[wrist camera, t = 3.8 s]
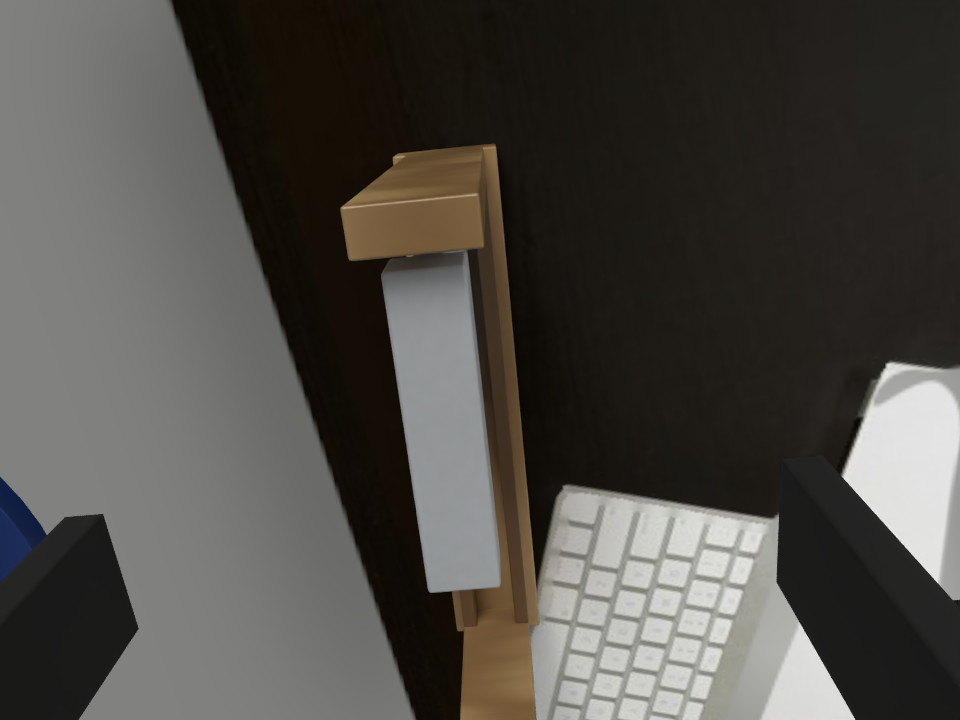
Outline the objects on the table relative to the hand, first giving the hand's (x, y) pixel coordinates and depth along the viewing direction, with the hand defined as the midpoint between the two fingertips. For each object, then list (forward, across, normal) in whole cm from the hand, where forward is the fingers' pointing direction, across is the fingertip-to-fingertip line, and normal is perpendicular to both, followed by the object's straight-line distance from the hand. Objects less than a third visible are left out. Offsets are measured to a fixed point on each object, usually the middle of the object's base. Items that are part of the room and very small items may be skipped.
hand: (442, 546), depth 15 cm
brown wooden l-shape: (+19, 0, -5) cm, 19 cm away
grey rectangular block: (+17, 0, 0) cm, 17 cm away
